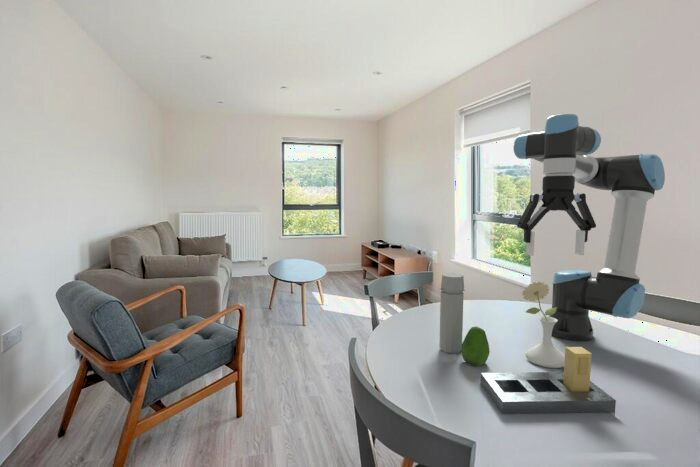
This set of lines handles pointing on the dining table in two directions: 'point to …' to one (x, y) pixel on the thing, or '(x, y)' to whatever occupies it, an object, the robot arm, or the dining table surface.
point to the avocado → (475, 347)
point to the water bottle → (451, 312)
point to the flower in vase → (544, 351)
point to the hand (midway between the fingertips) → (554, 254)
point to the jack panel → (543, 394)
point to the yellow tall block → (577, 369)
